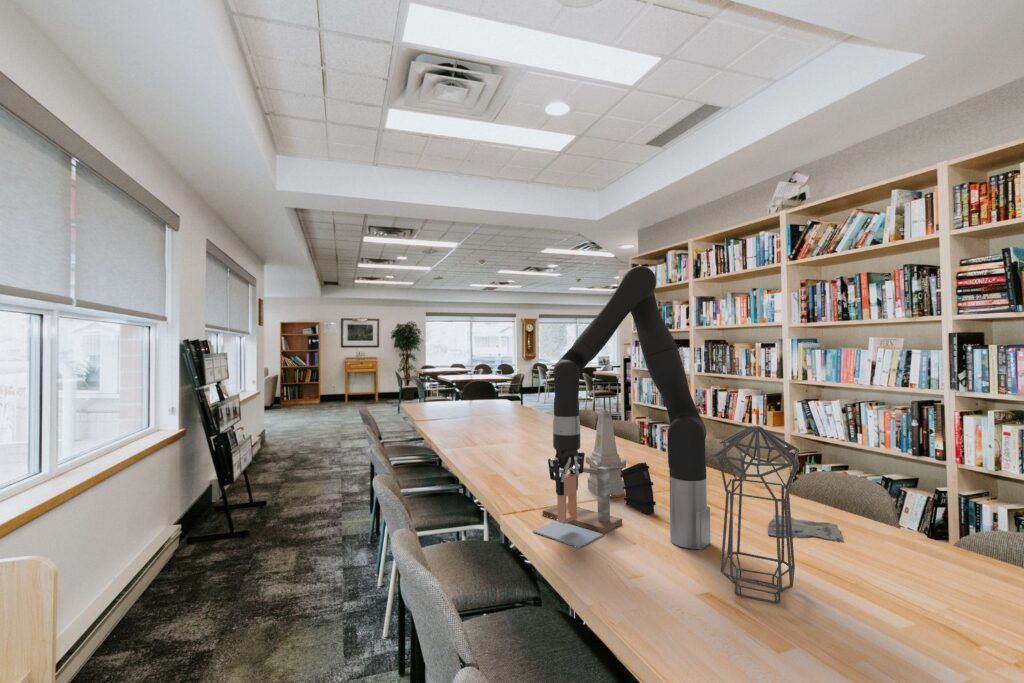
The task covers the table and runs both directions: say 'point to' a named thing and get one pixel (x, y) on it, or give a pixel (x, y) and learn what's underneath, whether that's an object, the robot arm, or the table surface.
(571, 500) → the salmon hollow block
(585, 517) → the stand
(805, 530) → the fossil rock
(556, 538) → the mat
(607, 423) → the miniature monument
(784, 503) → the geometric lantern
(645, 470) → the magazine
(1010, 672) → the table surface
